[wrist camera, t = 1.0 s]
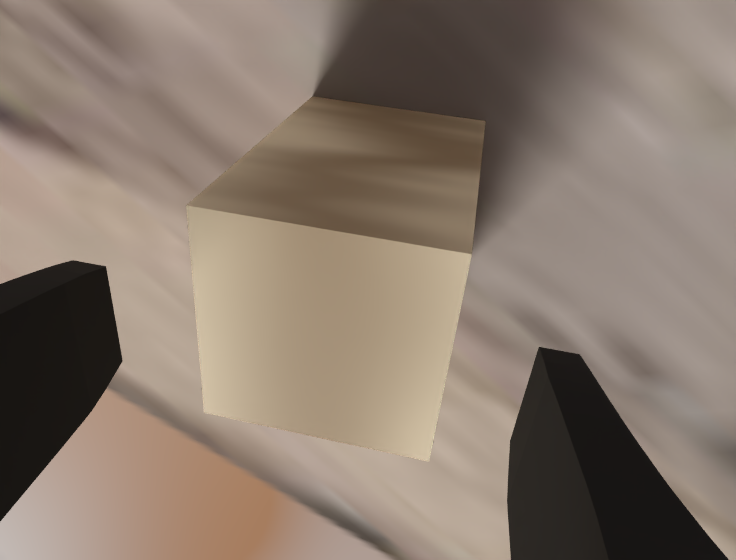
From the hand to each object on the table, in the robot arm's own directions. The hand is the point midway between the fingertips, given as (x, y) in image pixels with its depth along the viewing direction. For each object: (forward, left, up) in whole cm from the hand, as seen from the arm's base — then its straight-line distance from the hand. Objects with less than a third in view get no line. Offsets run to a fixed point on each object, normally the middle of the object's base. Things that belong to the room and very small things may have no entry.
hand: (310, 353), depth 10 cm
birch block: (0, 0, -7) cm, 7 cm away
